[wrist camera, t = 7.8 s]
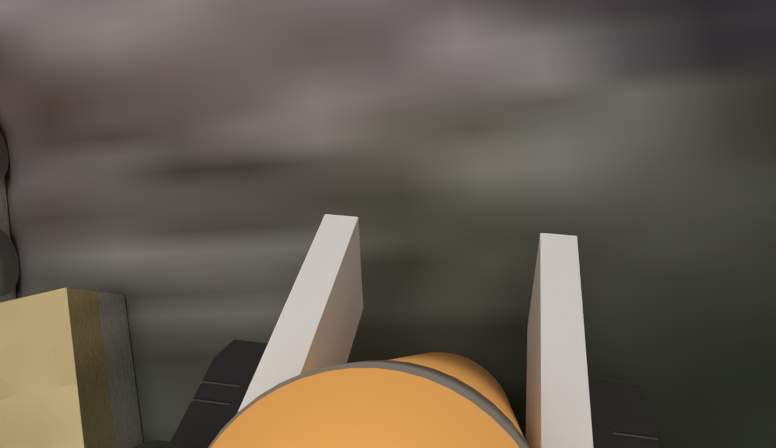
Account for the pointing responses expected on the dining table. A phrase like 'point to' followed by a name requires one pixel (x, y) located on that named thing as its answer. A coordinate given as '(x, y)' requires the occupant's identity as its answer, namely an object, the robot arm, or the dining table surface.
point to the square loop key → (62, 361)
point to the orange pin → (380, 408)
